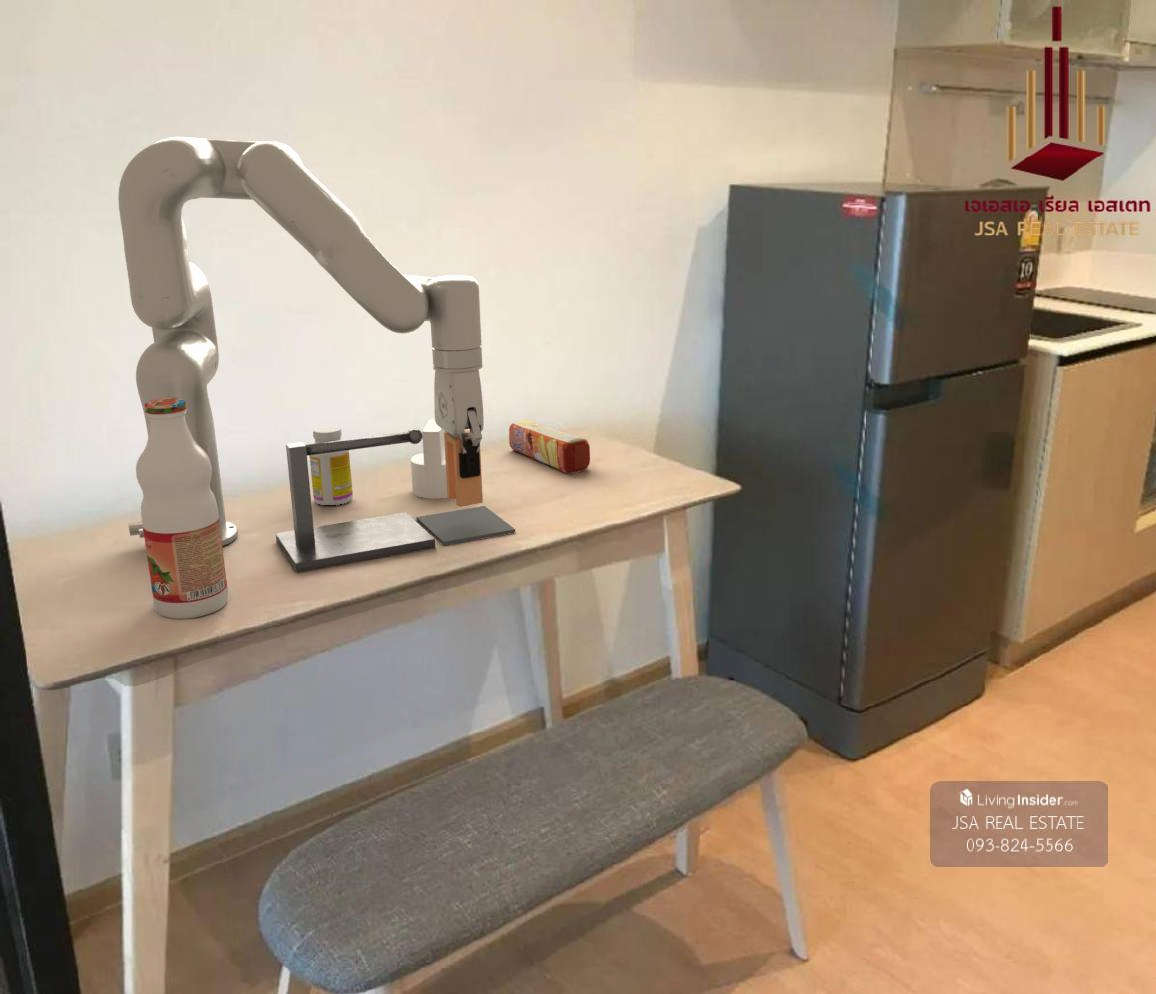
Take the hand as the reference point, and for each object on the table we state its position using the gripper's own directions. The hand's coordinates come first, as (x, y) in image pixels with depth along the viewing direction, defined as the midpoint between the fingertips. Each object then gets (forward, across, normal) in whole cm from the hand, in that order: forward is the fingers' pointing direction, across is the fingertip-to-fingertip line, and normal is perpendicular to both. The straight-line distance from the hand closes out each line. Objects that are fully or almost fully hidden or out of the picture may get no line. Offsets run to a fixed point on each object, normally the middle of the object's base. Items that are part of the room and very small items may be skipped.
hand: (463, 470), depth 168 cm
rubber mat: (+9, 0, 0) cm, 9 cm away
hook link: (+5, 0, 0) cm, 5 cm away
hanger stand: (+9, 0, -18) cm, 20 cm away
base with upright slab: (+10, -20, +2) cm, 22 cm away
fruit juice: (+9, +12, -44) cm, 46 cm away
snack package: (+10, -28, +28) cm, 41 cm away
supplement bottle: (+9, -23, -16) cm, 29 cm away
